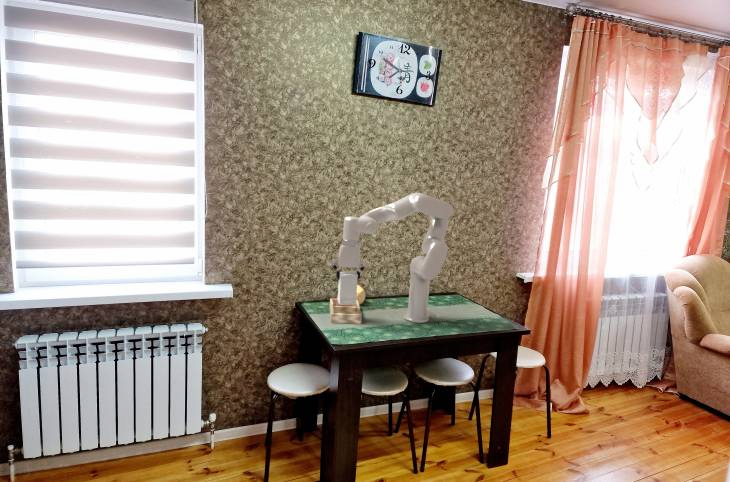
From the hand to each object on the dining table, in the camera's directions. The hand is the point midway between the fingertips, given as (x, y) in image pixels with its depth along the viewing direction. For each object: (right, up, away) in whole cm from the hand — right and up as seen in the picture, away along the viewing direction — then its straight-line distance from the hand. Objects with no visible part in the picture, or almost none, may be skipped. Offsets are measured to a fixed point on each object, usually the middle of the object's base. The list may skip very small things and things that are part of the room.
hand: (347, 279), depth 221 cm
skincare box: (-1, -12, +2) cm, 12 cm away
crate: (-2, -19, +9) cm, 21 cm away
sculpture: (+2, -16, +30) cm, 34 cm away
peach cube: (-3, -17, +15) cm, 23 cm away
